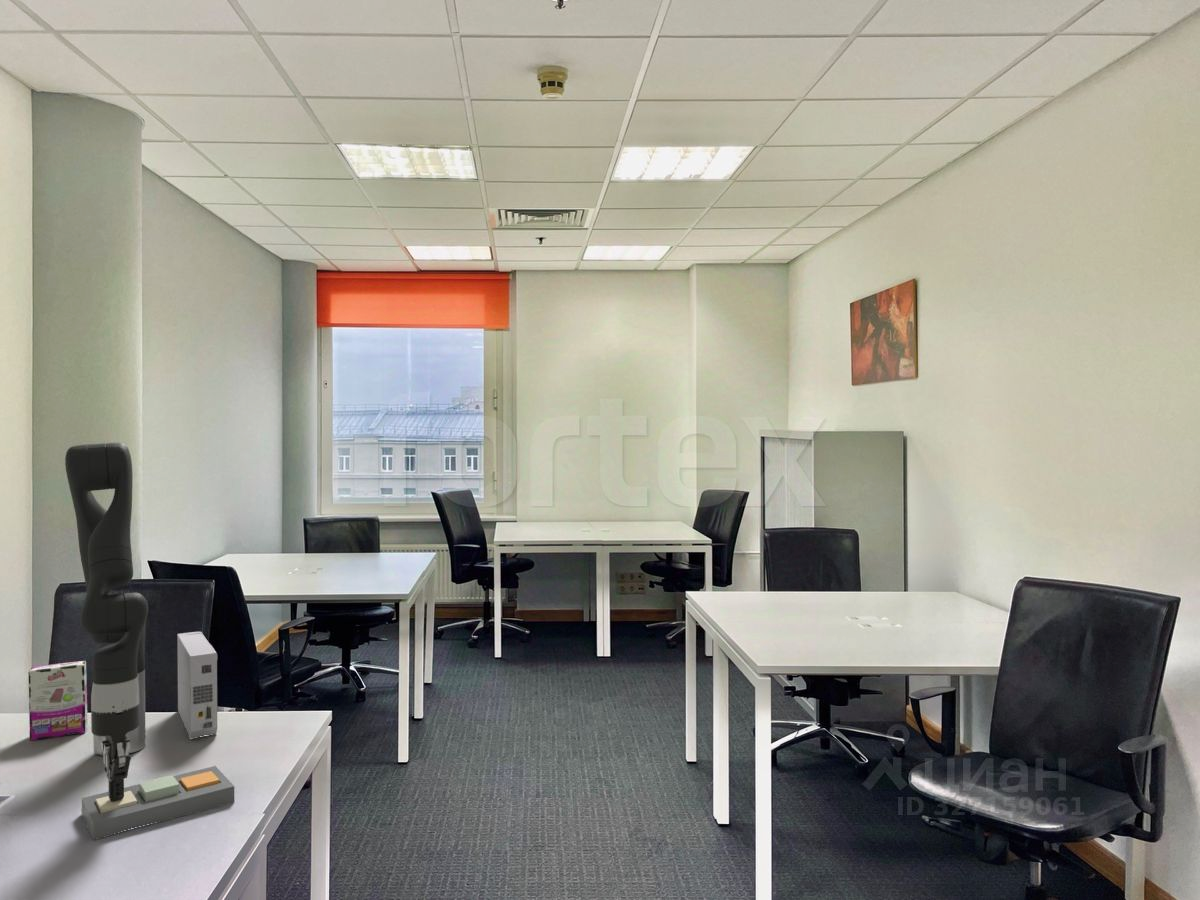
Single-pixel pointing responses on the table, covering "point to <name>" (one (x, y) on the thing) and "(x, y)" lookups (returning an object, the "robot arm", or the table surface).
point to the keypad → (156, 805)
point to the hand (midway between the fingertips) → (116, 799)
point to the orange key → (199, 781)
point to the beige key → (115, 802)
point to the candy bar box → (57, 700)
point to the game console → (197, 684)
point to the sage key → (158, 788)
